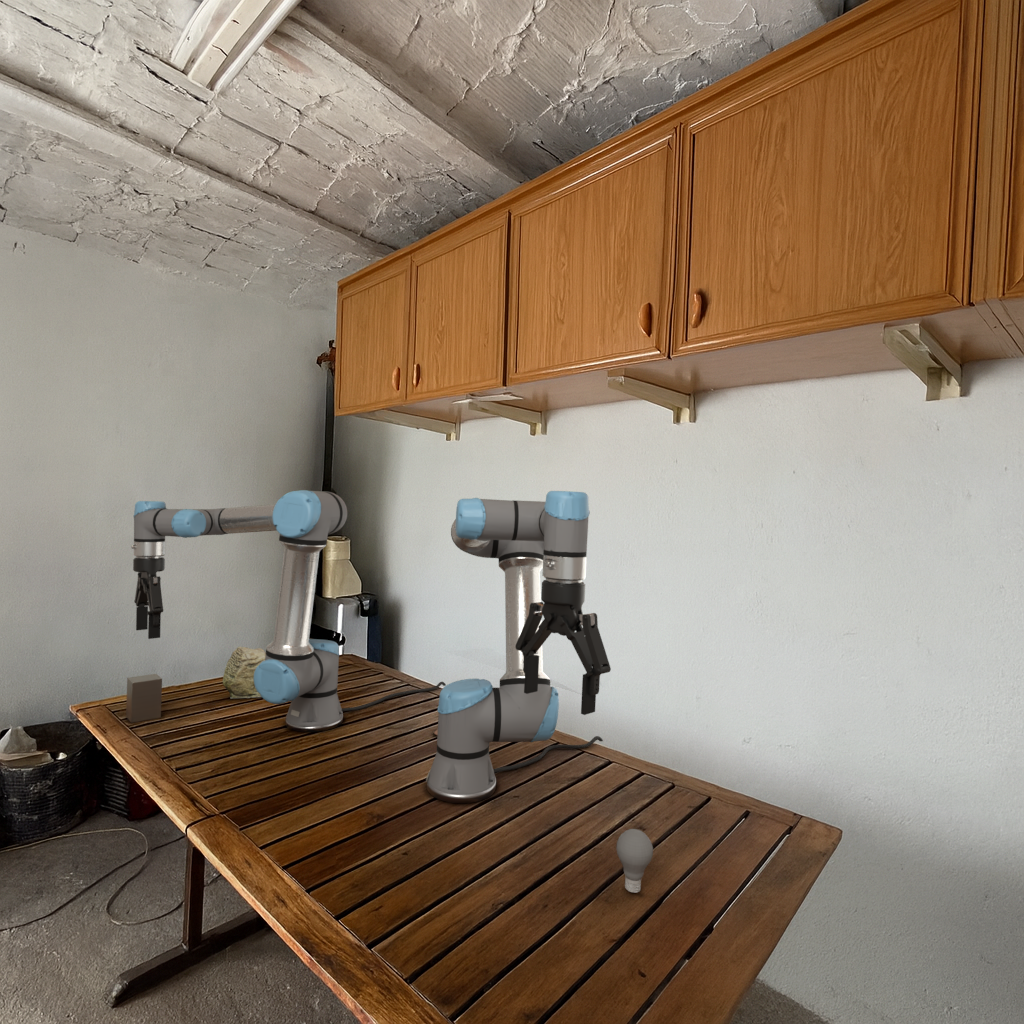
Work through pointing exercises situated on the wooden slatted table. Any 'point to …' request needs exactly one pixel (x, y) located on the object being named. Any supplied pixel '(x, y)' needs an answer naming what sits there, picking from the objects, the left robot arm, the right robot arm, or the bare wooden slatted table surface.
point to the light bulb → (634, 857)
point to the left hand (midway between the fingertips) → (147, 633)
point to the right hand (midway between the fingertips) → (558, 702)
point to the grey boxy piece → (143, 697)
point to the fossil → (242, 672)
